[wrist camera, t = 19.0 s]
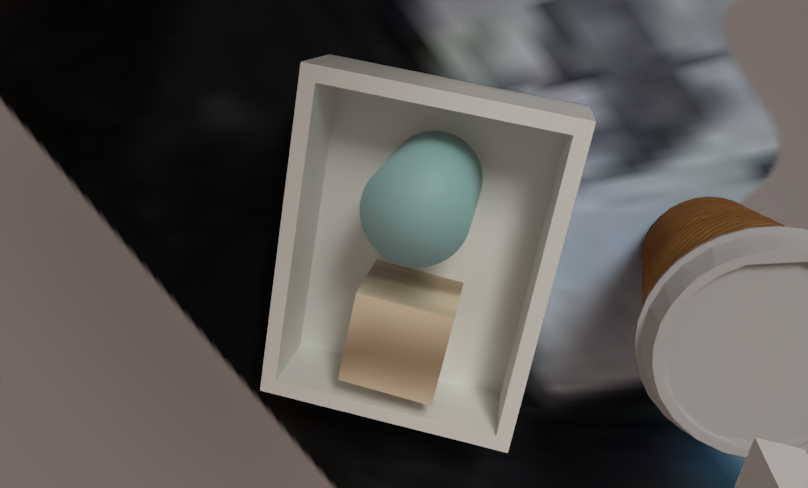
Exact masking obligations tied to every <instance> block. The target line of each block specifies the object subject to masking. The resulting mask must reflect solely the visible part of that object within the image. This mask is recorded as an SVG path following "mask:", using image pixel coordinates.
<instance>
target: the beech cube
mask: <svg viewBox="0 0 808 488" xmlns="http://www.w3.org/2000/svg"><path fill="white" fill-rule="evenodd" d="M463 284H464V283H463V282H459V281H455V280H452V279H448V278H444V277H440V276H436V275H433V274H429V273H425V272H421V271H418V270H414V269H410V268H406V267H403V266H399V265H395V264H391V263H388V262H384V261H380V260H376V261H375V263H374V265H373V266H372V268H371V270H370V271H369V273H368V274H367V276H366V278H365V279H364V281H363V282H362V284H361V286H360V287H359V289H358V291H357V292H356V295H355V300H354V305H353V310H352V314H351V319H350V324H349V329H348V334H347V338H346V343H345V348H344V353H343V357H342V362H341V367H340V372H339V377H338V380H341V381H345V382H348V383H352V384H355V385H359V386H362V387H366V388H370V389H373V390H377V391H380V392H384V393H387V394H391V395H394V396H398V397H401V398H405V399H408V400H412V401H416V402H419V403H423V404H426V405H430V406H432V402H433V398H434V394H435V391H436V387H437V383H438V379H439V376H440V372H441V368H442V364H443V360H444V357H445V353H446V349H447V345H448V341H449V338H450V334H451V330H452V326H453V322H454V319H455V315H456V311H457V307H458V303H459V299H460V295H461V292H462V288H463Z"/></svg>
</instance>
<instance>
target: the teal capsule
mask: <svg viewBox="0 0 808 488" xmlns="http://www.w3.org/2000/svg"><path fill="white" fill-rule="evenodd" d="M482 182H483V174H482V168H481V164H480V161H479V159H478V157H477V155H476V153H475V152H474V150H473V149H472V148H471V147H470V146H469V145H468V144H467V143H466V142H465V141H464V140H462V139H461V138H459V137H457V136H455V135H453V134H450V133H447V132H443V131H427V132H422V133H419V134H417V135H414V136H412V137H411V138H409V139H408V140H406V141H405V142H404V143H403V144H402V145H401V146H400V147H399V148H398V149H397V150H396V151H395V152H394V153H393V154H392V156H391V157H390V158H389V159H388V160H387V161H386V162H385V163H384V164H383V165H382V166H381V167H380V168H379V169H378V171H377V172H376V173H375V174H374V175H373V176H372V177H371V178H370V180H369V181H368V182H367V184H366V186H365V188H364V190H363V193H362V196H361V200H360V209H359V211H360V220H361V225H362V228H363V231H364V233H365V235H366V237H367V239H368V240H369V242H370V243H371V245H372V246H373V247H374V248H375V249H376V250H377V251H378V252H379V253H380V254H381V255H383V256H384V257H386V258H387V259H389V260H391V261H392V262H395V263H397V264H400V265H404V266H409V267H428V266H432V265H436V264H438V263H441V262H443V261H445V260H447V259H448V258H450V257H451V256H452V255H454V254H455V253H456V252H457V251H458V250H459V248H460V247H461V246H462V245H463V243H464V241H465V240H466V238H467V235H468V233H469V230H470V227H471V223H472V220H473V216H474V213H475V209H476V206H477V203H478V199H479V196H480V192H481V188H482Z"/></svg>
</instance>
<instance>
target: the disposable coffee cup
mask: <svg viewBox="0 0 808 488" xmlns="http://www.w3.org/2000/svg"><path fill="white" fill-rule="evenodd" d="M642 288H643V308H642V310H641V313H640V315H639V317H638V320H637V328H636V336H635V359H636V363H637V367H638V371H639V376H640V378H641V381H642V383H643V385H644V387H645V389H646V392H647V394H648V396H649V397H650V398H651V400H652V401H653V402H654V403H655V405H656V406H657V407H658V408H659V410H660V411H661V412H662V413H663V415H664V416H665V417H666V418H668V419H669V420H670V421H671V422H673V423H674V424H675V425H676V426H678V427H679V428H680V429H682V430H683V431H685V432H687V433H688V434H690V435H692V436H693V437H694V438H695V439H697V440H699V441H702V442H704V443H706V444H708V445H710V446H712V447H714V448H716V449H718V450H720V451H722V452H724V453H728V454H733V455H738V456H743V457H747V455H748V453H749V450H750V448H751V445H752V443H753V440H754V438H755V437H756V438H760V439H764V440H768V441H772V442H776V443H781V444H785V445H789V446H793V447H797V448H801V449H805V451H806V453H807V454H808V230H806V229H803V228H794V227H786V226H784V225H782V224H780V223H778V222H776V221H773V220H772V219H770V218H767V217H765V216H763V215H761V214H759V213H757V212H755V211H752V210H750V209H748V208H746V207H744V206H743V205H741V204H739V203H736V202H734V201H732V200H728V199H724V198H718V197H702V198H695V199H691V200H688V201H685V202H682V203H680V204H678V205H676V206H674V207H672V208H670V209H669V210H668V211H667V212H665V213H664V214H663V215H662V216H660V217H659V218H658V220H657V221H656V222H655V223H654V224H653V225H652V227H651V229H650V230H649V232H648V233H647V236H646V238H645V241H644V244H643V250H642Z"/></svg>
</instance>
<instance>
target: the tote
mask: <svg viewBox="0 0 808 488" xmlns="http://www.w3.org/2000/svg"><path fill="white" fill-rule="evenodd" d="M595 124H596V120H595V118H594V116H593V114H592V112H591V110H590V108H589V106H585V105H580V104H575V103H570V102H565V101H560V100H555V99H550V98H545V97H540V96H535V95H530V94H525V93H520V92H515V91H510V90H505V89H500V88H495V87H490V86H485V85H480V84H475V83H470V82H465V81H460V80H455V79H451V78H446V77H441V76H436V75H431V74H426V73H421V72H416V71H411V70H406V69H401V68H396V67H391V66H386V65H381V64H376V63H371V62H366V61H361V60H356V59H351V58H346V57H341V56H336V55H331V54H329V55H325V56H321V57H317V58H313V59H309V60H305V61H302V62H301V64H300V72H299V80H298V88H297V96H296V104H295V112H294V120H293V128H292V136H291V144H290V152H289V160H288V168H287V176H286V184H285V192H284V200H283V208H282V217H281V225H280V233H279V241H278V249H277V257H276V265H275V273H274V281H273V289H272V297H271V305H270V313H269V321H268V329H267V337H266V345H265V353H264V361H263V370H262V378H261V386H260V391H264V392H268V393H272V394H276V395H280V396H284V397H288V398H292V399H296V400H299V401H303V402H307V403H311V404H315V405H319V406H323V407H327V408H331V409H335V410H339V411H343V412H347V413H351V414H355V415H359V416H363V417H367V418H371V419H375V420H379V421H383V422H387V423H391V424H395V425H399V426H403V427H407V428H411V429H415V430H418V431H422V432H426V433H430V434H434V435H438V436H442V437H446V438H450V439H454V440H458V441H462V442H466V443H470V444H474V445H478V446H482V447H486V448H490V449H494V450H498V451H502V452H506V453H508V451H509V447H510V443H511V439H512V436H513V432H514V428H515V424H516V421H517V417H518V413H519V409H520V406H521V402H522V398H523V394H524V391H525V387H526V383H527V379H528V376H529V372H530V368H531V364H532V361H533V357H534V353H535V349H536V346H537V342H538V338H539V334H540V331H541V327H542V323H543V319H544V316H545V312H546V308H547V304H548V301H549V297H550V293H551V289H552V286H553V282H554V278H555V274H556V271H557V267H558V263H559V259H560V255H561V252H562V248H563V244H564V240H565V237H566V233H567V229H568V225H569V222H570V218H571V214H572V210H573V207H574V203H575V199H576V195H577V192H578V188H579V184H580V180H581V177H582V173H583V169H584V165H585V162H586V158H587V154H588V150H589V147H590V143H591V139H592V135H593V132H594V128H595ZM427 131H443V132H447V133H450V134H453V135H455V136H457V137H459V138H461V139H462V140H464V141H465V142H466V143H467V144H468V145H469V146H470V147H471V148H472V149H473V150H474V152H475V153H476V155H477V157H478V159H479V161H480V164H481V168H482V174H483V182H482V188H481V192H480V196H479V199H478V203H477V206H476V209H475V213H474V216H473V220H472V223H471V227H470V230H469V233H468V235H467V238H466V240H465V241H464V243H463V245H462V246H461V247H460V248H459V250H458V251H457V252H456V253H455V254H454V255H452V256H451V257H450V258H448V259H447V260H445V261H443V262H441V263H438V264H436V265H432V266H428V267H409V266H404V265H400V264H397V263H395V262H392V261H391V260H389V259H387V258H386V257H384V256H383V255H381V254H380V253H379V252H378V251H377V250H376V249H375V248H374V247H373V246H372V245H371V243H370V242H369V240H368V239H367V237H366V235H365V233H364V231H363V228H362V225H361V220H360V211H359V209H360V200H361V196H362V193H363V190H364V188H365V186H366V184H367V182H368V181H369V180H370V178H371V177H372V176H373V175H374V174H375V173H376V172H377V171H378V169H379V168H380V167H381V166H382V165H383V164H384V163H385V162H386V161H387V160H388V159H389V158H390V157H391V156H392V154H393V153H394V152H395V151H396V150H397V149H398V148H399V147H400V146H401V145H402V144H403V143H404V142H405V141H406V140H408V139H409V138H411V137H412V136H414V135H417V134H419V133H422V132H427ZM376 260H380V261H384V262H388V263H391V264H395V265H399V266H403V267H406V268H410V269H414V270H418V271H421V272H425V273H429V274H433V275H436V276H440V277H444V278H448V279H452V280H455V281H459V282H463V283H464V284H463V288H462V292H461V295H460V299H459V303H458V307H457V311H456V315H455V319H454V322H453V326H452V330H451V334H450V338H449V341H448V345H447V349H446V353H445V357H444V360H443V364H442V368H441V372H440V376H439V379H438V383H437V387H436V391H435V394H434V398H433V402H432V406H430V405H426V404H423V403H419V402H416V401H412V400H408V399H405V398H401V397H398V396H394V395H391V394H387V393H384V392H380V391H377V390H373V389H370V388H366V387H362V386H359V385H355V384H352V383H348V382H345V381H341V380H338V377H339V372H340V367H341V362H342V357H343V353H344V348H345V343H346V338H347V334H348V329H349V324H350V319H351V314H352V310H353V305H354V300H355V295H356V292H357V291H358V289H359V287H360V286H361V284H362V282H363V281H364V279H365V278H366V276H367V274H368V273H369V271H370V270H371V268H372V266H373V265H374V263H375V261H376Z"/></svg>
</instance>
